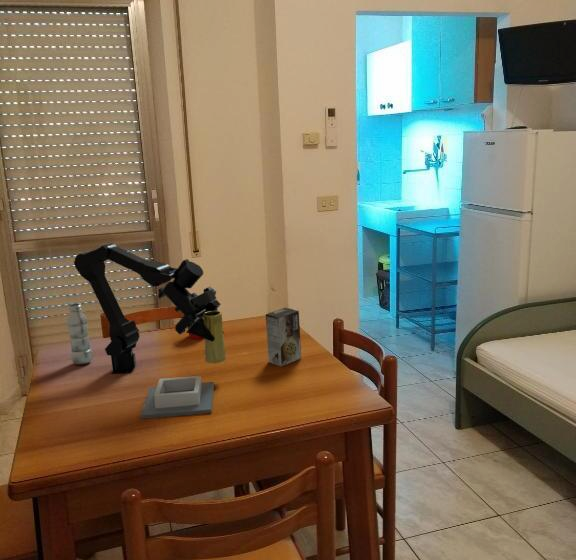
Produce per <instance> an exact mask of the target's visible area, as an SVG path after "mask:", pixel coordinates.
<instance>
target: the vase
mask: <svg viewBox="0 0 576 560" xmlns="http://www.w3.org/2000/svg"><path fill="white" fill-rule="evenodd" d="M203 320H204V325H205V326H206V328H207V329H208V330H209V331H210V333H211V334H212V335H213V337H214V338H215V340H214V341H213V342H212V341H209V340H207V339H204V355H205V358H204V361H205V362H206V363H208V364H220V363H222V362H224V361H226V360H227V357H226V356H227V355H226V349H225V348H226V347H225V341H224V333H223V332H224V330H223V329H224V328H223V314H222V312H221V311H220V310H219V311H218V310H217V311H209V312H205V313H204V314H203Z"/></svg>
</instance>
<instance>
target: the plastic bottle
mask: <svg viewBox="0 0 576 560" xmlns="http://www.w3.org/2000/svg"><path fill="white" fill-rule="evenodd" d="M82 310H83V308H82V304H81V303H72V304H69V305H68V311H69V314H68V316H67V317H66V320H65V323H66V327H67V330H68V334H69V339H70V348H71V349H70V350H71V352H70V357H71V358H70V359H71V362H72V363H73V364H75V365H85V364H86V365H87V364H89V363H91V362H92V360H93V359H94V358H93V351H92V349H91V344H90V340H89V333H88V326H89V325H88V324H89V323H88V318H87V316H86V314H85V313H84V312H82Z"/></svg>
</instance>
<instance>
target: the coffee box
mask: <svg viewBox="0 0 576 560" xmlns="http://www.w3.org/2000/svg"><path fill="white" fill-rule="evenodd" d="M265 324H266V326H265V327H266V328H265V329H266V340H267V357H268V358H267V359H268V363H270V364H273V365H276V366H278V367H284V366H286V365H289V364H291V363H293V362H295V361H298V360H301V359H302V344H301V327H300V326H301V325H300V311H299V310H297V309H293V308H290V307H283V308H280V309H277V310H274V311H270V312H269V313H265Z"/></svg>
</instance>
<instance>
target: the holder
mask: <svg viewBox="0 0 576 560" xmlns="http://www.w3.org/2000/svg"><path fill="white" fill-rule="evenodd" d="M214 391H215V381H207V382H206V381H205V382H202V377H201V375H195V376H194V375H193V376H182V377H181V376H179V377H169V378H168V377H167V378H166V377H165V378H159V380H158V383H157V386H156V385H155V386H150V388H149V390H148V394H147V396H146V399H145V401H144V405H143V407H142V409H141V414H140V419H141V420H144V419H153V418H155V419H156V418H166V417H177V416H180V417H181V416H189V415H190V416H191V415H201V414H202V415H203V414H212V413H213V403H214Z"/></svg>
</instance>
